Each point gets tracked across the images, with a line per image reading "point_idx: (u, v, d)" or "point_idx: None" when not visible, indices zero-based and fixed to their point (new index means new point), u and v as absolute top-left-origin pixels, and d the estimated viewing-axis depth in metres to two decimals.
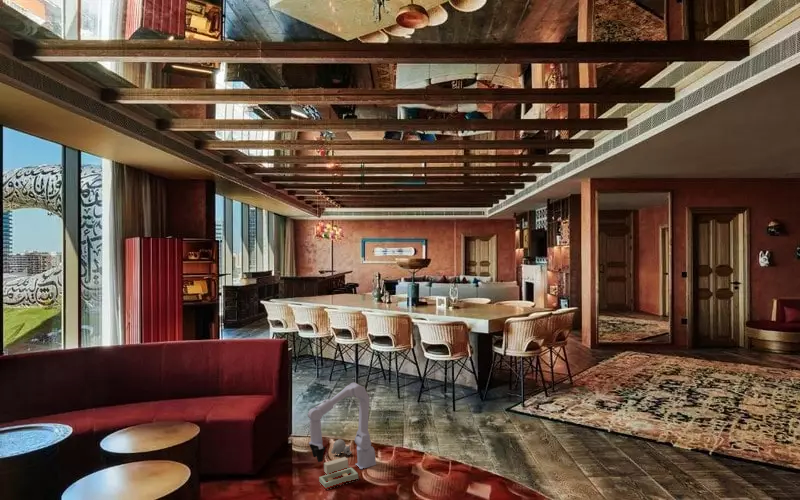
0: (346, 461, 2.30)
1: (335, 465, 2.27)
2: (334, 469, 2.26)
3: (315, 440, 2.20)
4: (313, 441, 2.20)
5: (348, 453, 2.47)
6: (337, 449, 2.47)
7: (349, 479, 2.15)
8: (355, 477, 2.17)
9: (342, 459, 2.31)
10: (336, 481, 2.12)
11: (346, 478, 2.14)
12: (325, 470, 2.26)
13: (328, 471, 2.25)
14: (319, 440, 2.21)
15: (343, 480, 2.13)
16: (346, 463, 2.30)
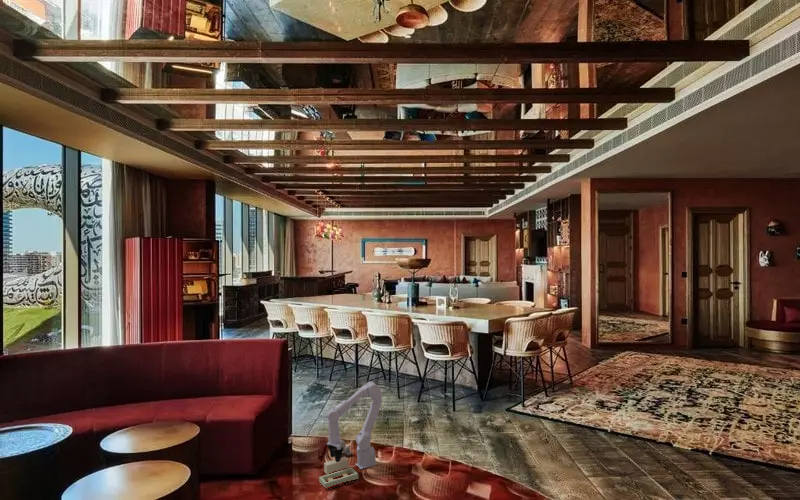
0: (346, 461, 2.30)
1: (335, 465, 2.27)
2: (334, 469, 2.26)
3: (333, 441, 2.27)
4: (331, 442, 2.27)
5: (348, 453, 2.47)
6: None
7: (349, 479, 2.15)
8: (355, 477, 2.17)
9: (342, 459, 2.31)
10: (336, 481, 2.12)
11: (346, 478, 2.14)
12: (325, 470, 2.26)
13: (328, 471, 2.25)
14: (337, 441, 2.28)
15: (343, 480, 2.13)
16: (346, 463, 2.30)
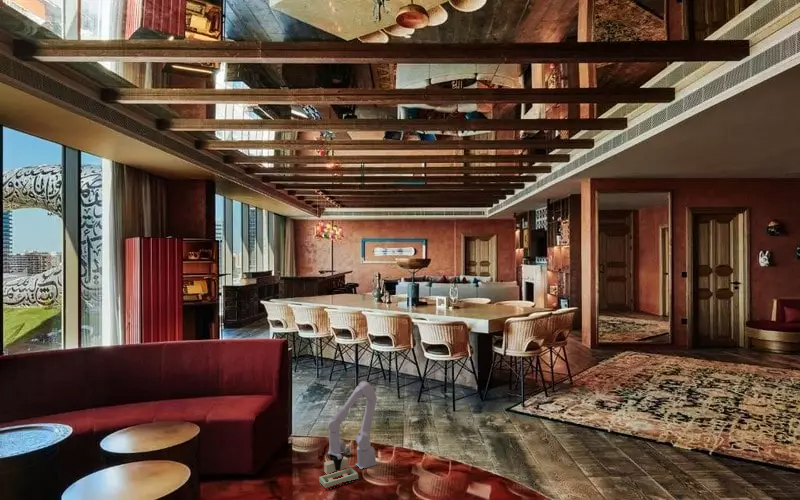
0: (346, 461, 2.30)
1: None
2: (334, 469, 2.26)
3: (334, 450, 2.27)
4: (332, 451, 2.27)
5: (348, 453, 2.47)
6: None
7: (349, 479, 2.15)
8: (355, 477, 2.17)
9: None
10: (336, 481, 2.12)
11: (346, 478, 2.14)
12: (325, 470, 2.26)
13: (328, 471, 2.25)
14: (338, 450, 2.28)
15: (343, 480, 2.13)
16: (346, 462, 2.30)
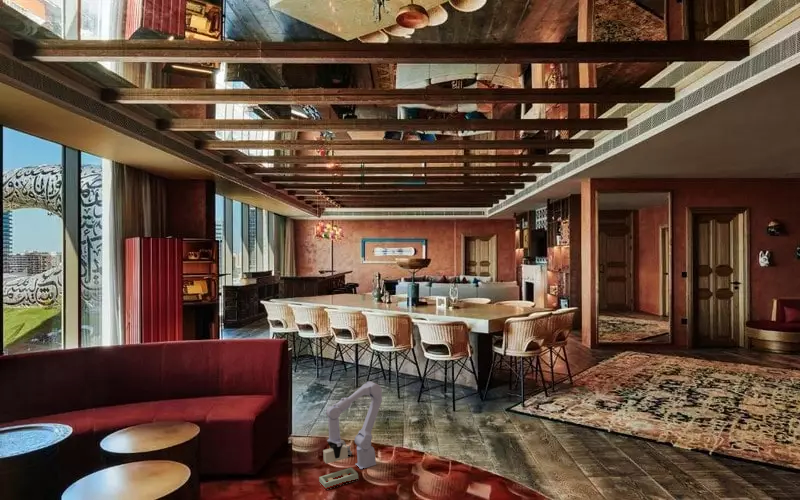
0: (346, 449, 2.27)
1: None
2: (333, 456, 2.24)
3: (333, 437, 2.24)
4: (331, 439, 2.24)
5: (349, 453, 2.47)
6: None
7: (349, 479, 2.15)
8: (355, 477, 2.17)
9: (342, 446, 2.29)
10: (336, 481, 2.12)
11: (346, 478, 2.14)
12: (324, 457, 2.24)
13: (327, 458, 2.22)
14: (337, 438, 2.25)
15: (343, 480, 2.13)
16: (346, 450, 2.27)
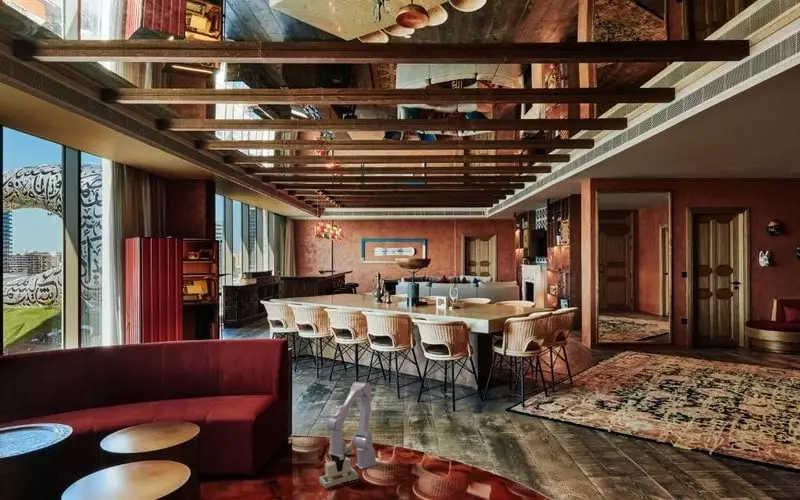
0: (348, 462, 2.18)
1: None
2: (336, 470, 2.14)
3: (336, 450, 2.15)
4: (334, 451, 2.15)
5: (349, 453, 2.47)
6: None
7: (349, 479, 2.15)
8: (355, 477, 2.17)
9: None
10: (336, 481, 2.12)
11: (346, 478, 2.14)
12: (326, 471, 2.14)
13: (329, 472, 2.13)
14: (340, 450, 2.16)
15: (343, 480, 2.13)
16: (349, 463, 2.18)
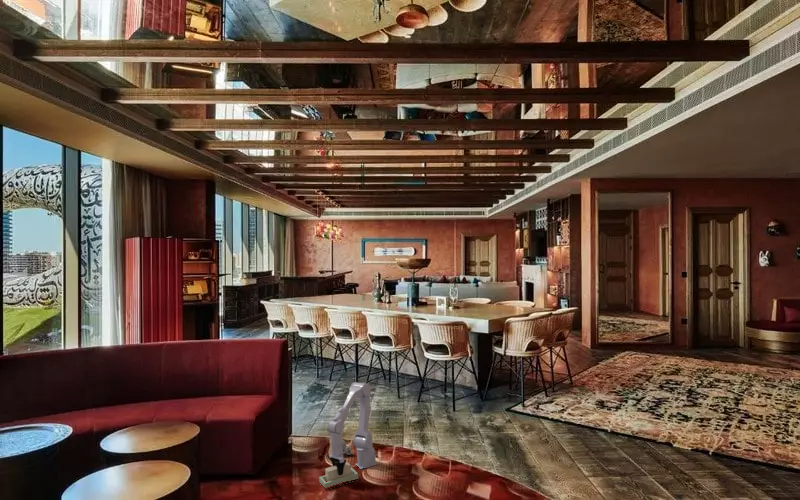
0: (349, 467, 2.18)
1: None
2: (336, 475, 2.14)
3: (336, 453, 2.15)
4: (334, 454, 2.15)
5: (349, 453, 2.47)
6: None
7: (349, 479, 2.15)
8: (355, 477, 2.17)
9: (345, 464, 2.19)
10: (336, 481, 2.12)
11: (346, 478, 2.14)
12: (326, 476, 2.14)
13: (330, 477, 2.13)
14: (340, 453, 2.16)
15: (343, 480, 2.13)
16: (349, 468, 2.18)
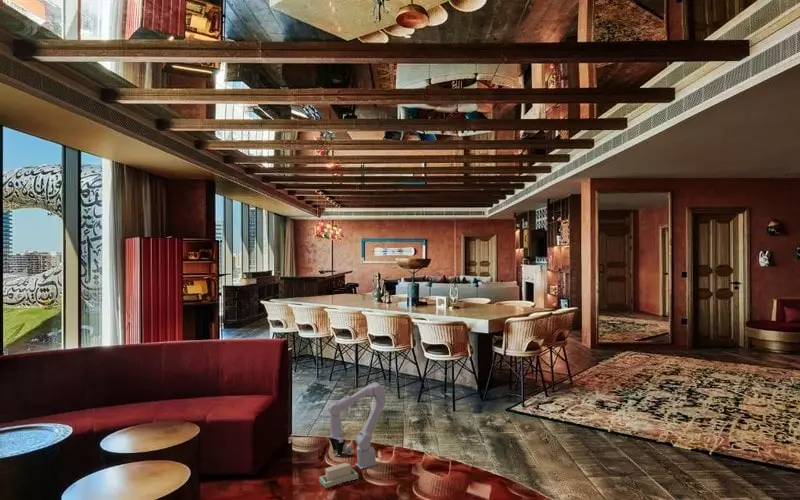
0: (349, 467, 2.18)
1: (337, 470, 2.15)
2: (336, 475, 2.14)
3: (335, 434, 2.27)
4: (333, 435, 2.27)
5: (349, 453, 2.47)
6: None
7: (349, 479, 2.15)
8: (355, 477, 2.17)
9: (345, 464, 2.19)
10: (336, 481, 2.12)
11: (346, 478, 2.14)
12: (326, 476, 2.14)
13: (330, 477, 2.13)
14: (339, 434, 2.28)
15: (343, 480, 2.13)
16: (349, 468, 2.18)
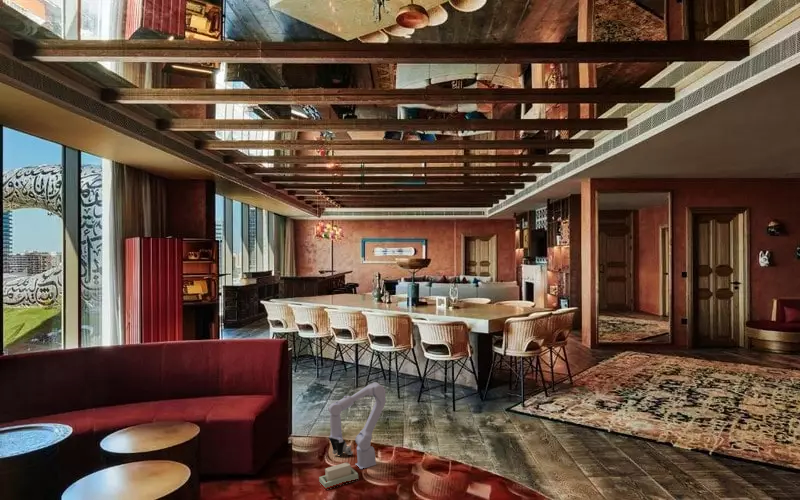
0: (349, 467, 2.18)
1: (337, 470, 2.15)
2: (336, 475, 2.14)
3: (335, 434, 2.27)
4: (333, 435, 2.27)
5: (349, 453, 2.47)
6: None
7: (349, 479, 2.15)
8: (355, 477, 2.17)
9: (345, 464, 2.19)
10: (336, 481, 2.12)
11: (346, 478, 2.14)
12: (326, 476, 2.14)
13: (330, 477, 2.13)
14: (339, 434, 2.28)
15: (343, 480, 2.13)
16: (349, 468, 2.18)
